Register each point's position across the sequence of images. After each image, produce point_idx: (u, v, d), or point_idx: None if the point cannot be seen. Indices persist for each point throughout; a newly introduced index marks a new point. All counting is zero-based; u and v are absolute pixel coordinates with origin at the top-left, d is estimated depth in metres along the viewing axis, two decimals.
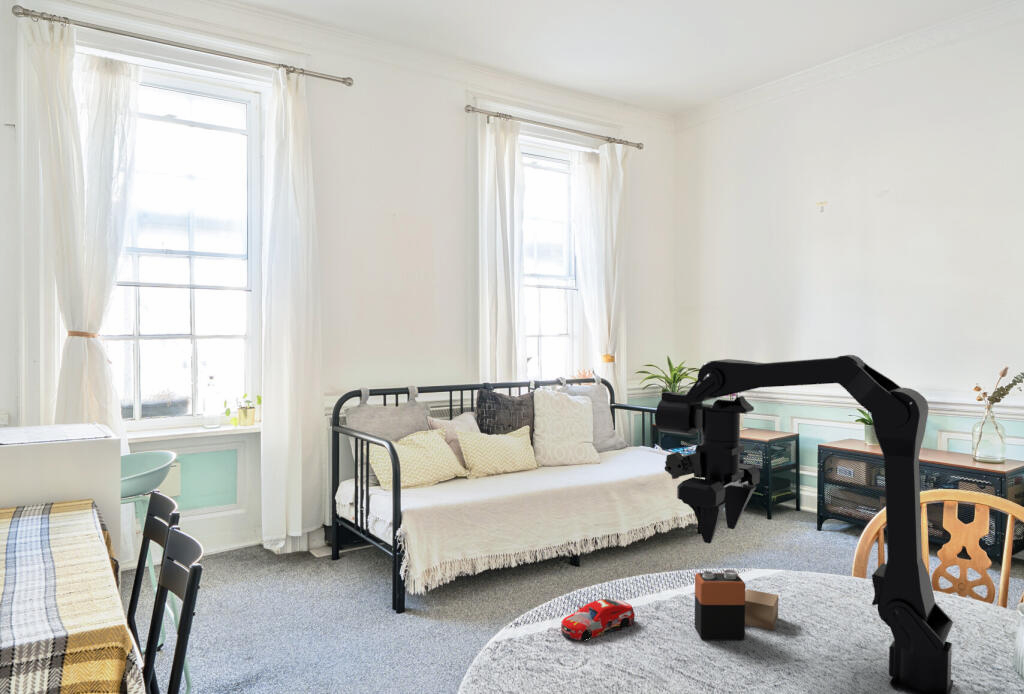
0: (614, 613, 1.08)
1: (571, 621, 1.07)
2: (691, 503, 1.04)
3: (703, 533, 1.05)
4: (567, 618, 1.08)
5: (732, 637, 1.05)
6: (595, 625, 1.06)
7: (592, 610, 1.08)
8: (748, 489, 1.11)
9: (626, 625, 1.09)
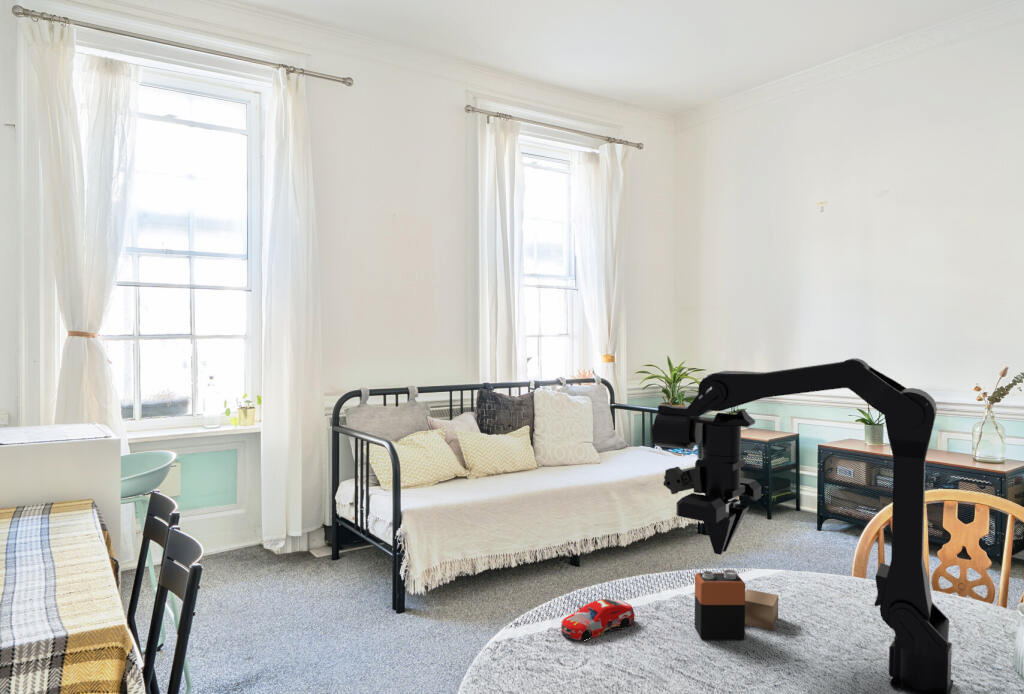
0: (614, 613, 1.08)
1: (571, 621, 1.07)
2: None
3: (714, 544, 1.05)
4: (567, 618, 1.08)
5: (732, 637, 1.05)
6: (595, 625, 1.06)
7: (592, 610, 1.08)
8: (740, 510, 1.05)
9: (626, 625, 1.09)
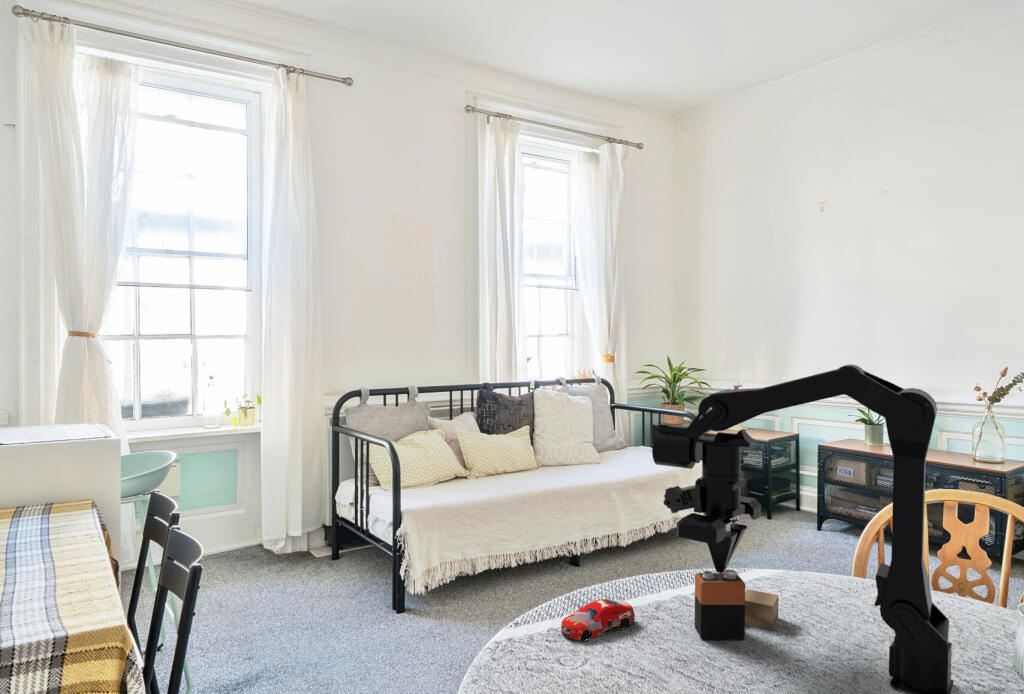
0: (614, 613, 1.08)
1: (570, 621, 1.07)
2: None
3: (715, 563, 1.06)
4: (567, 618, 1.08)
5: (732, 637, 1.05)
6: (595, 625, 1.06)
7: (592, 610, 1.08)
8: (739, 530, 1.05)
9: (626, 625, 1.09)
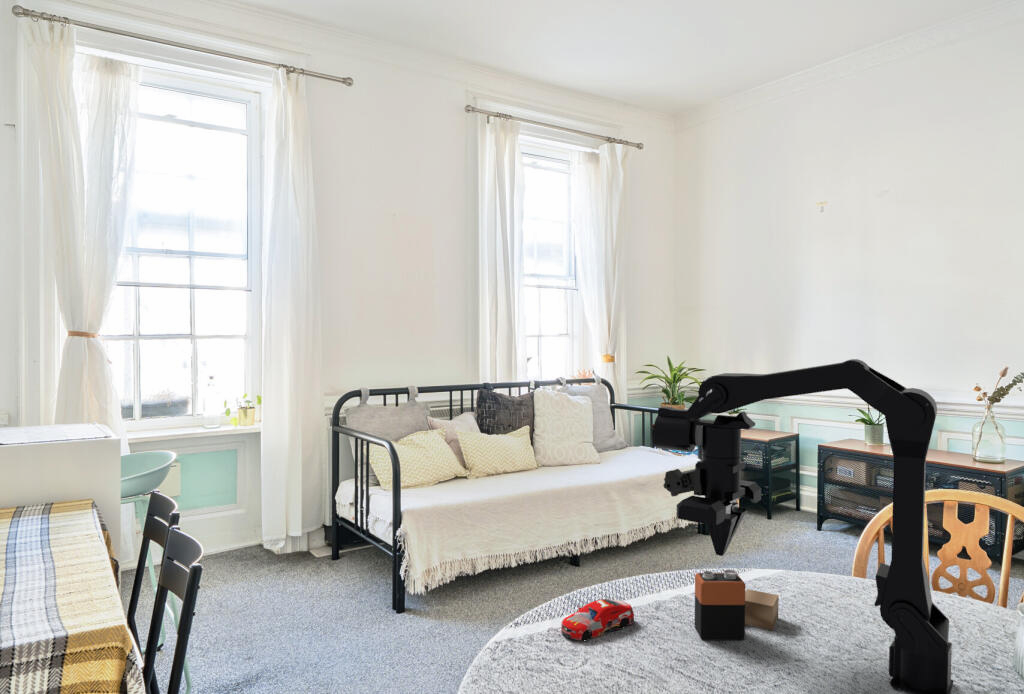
0: (613, 613, 1.08)
1: (571, 621, 1.07)
2: None
3: (715, 545, 1.06)
4: (567, 618, 1.08)
5: (732, 637, 1.05)
6: (595, 625, 1.06)
7: (592, 610, 1.08)
8: (739, 513, 1.05)
9: (626, 625, 1.10)
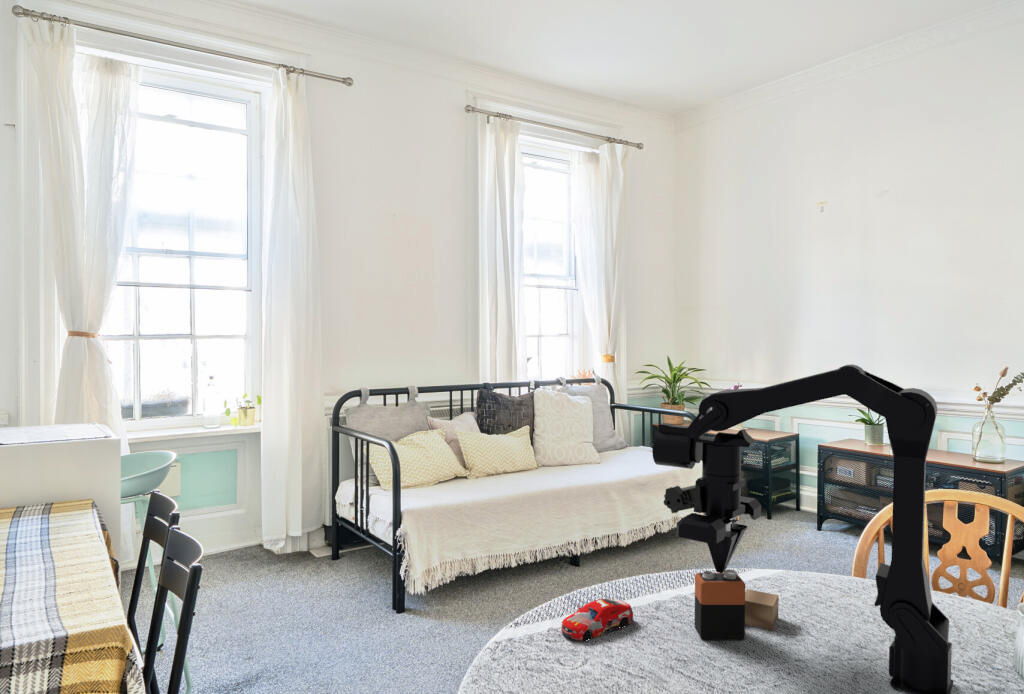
0: (613, 612, 1.09)
1: (571, 621, 1.06)
2: None
3: (715, 563, 1.06)
4: (567, 618, 1.08)
5: (732, 637, 1.05)
6: (596, 625, 1.06)
7: (592, 610, 1.08)
8: (739, 530, 1.05)
9: (625, 624, 1.10)
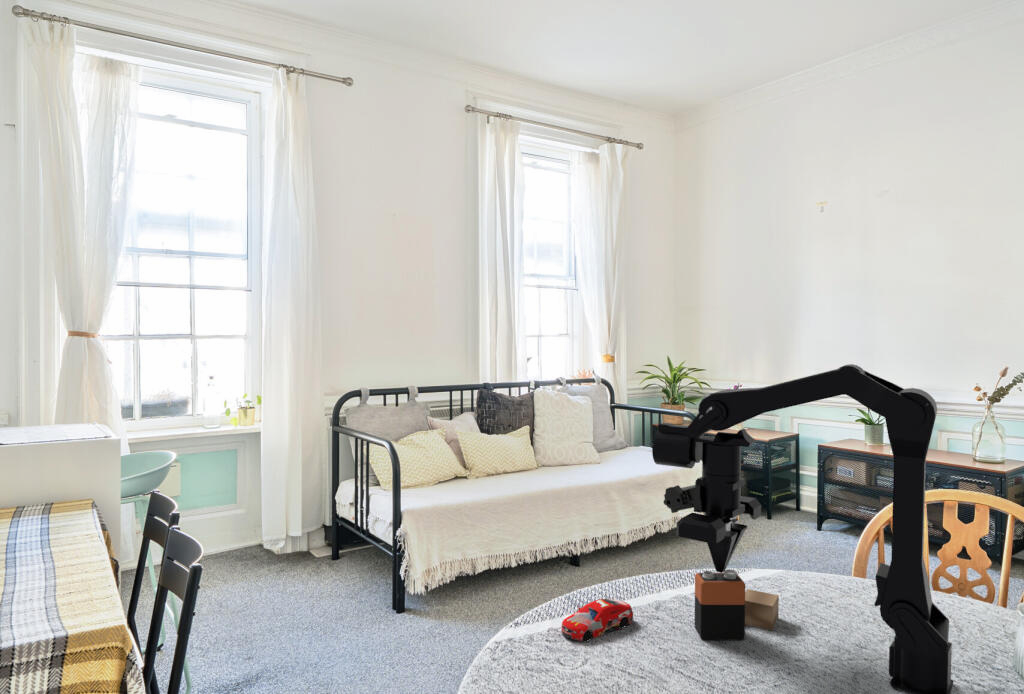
0: (613, 612, 1.09)
1: (571, 621, 1.06)
2: None
3: (715, 562, 1.06)
4: (567, 618, 1.08)
5: (732, 637, 1.05)
6: (596, 625, 1.06)
7: (592, 610, 1.08)
8: (739, 530, 1.05)
9: (625, 624, 1.10)
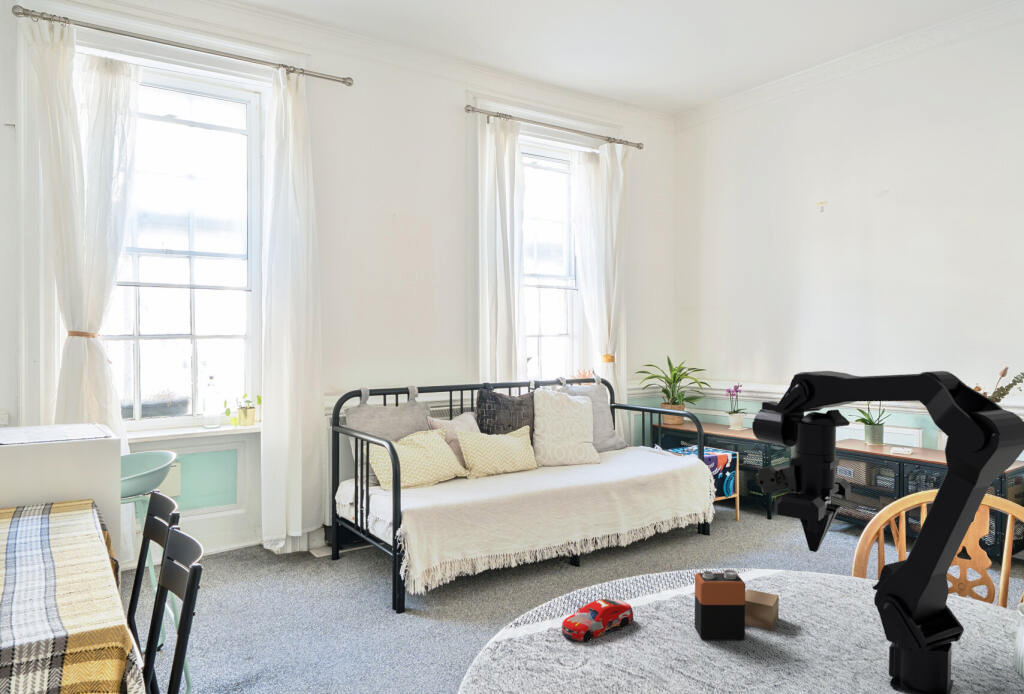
0: (614, 613, 1.08)
1: (572, 621, 1.06)
2: None
3: (809, 542, 1.06)
4: (568, 619, 1.07)
5: (732, 637, 1.05)
6: (596, 625, 1.06)
7: (592, 610, 1.08)
8: (833, 509, 1.06)
9: (625, 624, 1.10)
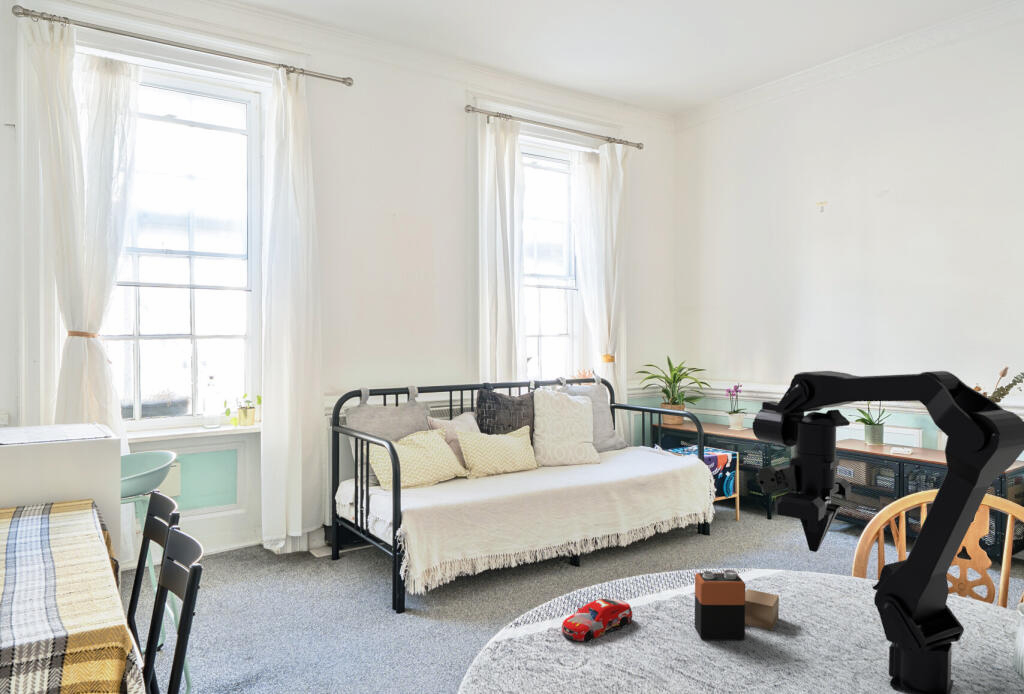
0: (613, 612, 1.09)
1: (572, 622, 1.06)
2: None
3: (809, 542, 1.06)
4: (568, 619, 1.07)
5: (732, 637, 1.05)
6: (597, 625, 1.06)
7: (592, 610, 1.08)
8: (833, 509, 1.06)
9: (625, 624, 1.10)
